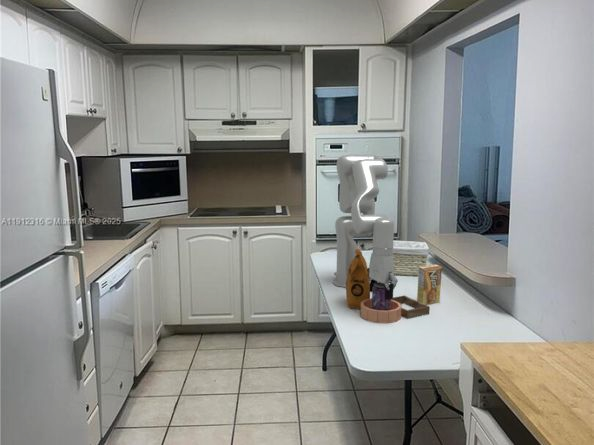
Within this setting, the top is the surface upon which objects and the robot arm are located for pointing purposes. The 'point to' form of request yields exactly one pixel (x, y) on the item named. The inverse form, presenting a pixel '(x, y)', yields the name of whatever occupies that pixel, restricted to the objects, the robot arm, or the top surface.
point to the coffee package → (357, 281)
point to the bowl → (380, 312)
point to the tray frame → (419, 307)
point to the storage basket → (409, 257)
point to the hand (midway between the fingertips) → (381, 295)
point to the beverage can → (380, 297)
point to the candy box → (429, 284)
